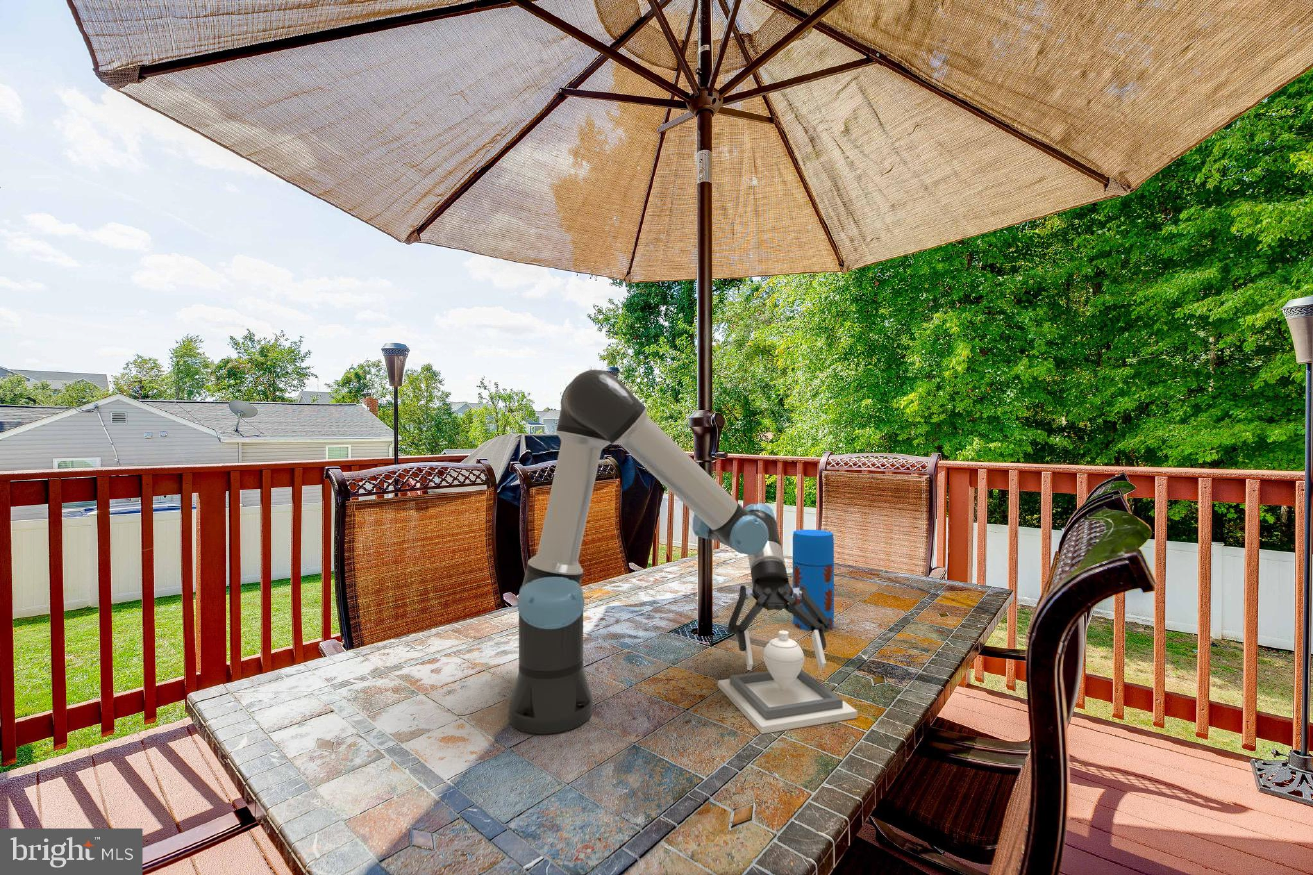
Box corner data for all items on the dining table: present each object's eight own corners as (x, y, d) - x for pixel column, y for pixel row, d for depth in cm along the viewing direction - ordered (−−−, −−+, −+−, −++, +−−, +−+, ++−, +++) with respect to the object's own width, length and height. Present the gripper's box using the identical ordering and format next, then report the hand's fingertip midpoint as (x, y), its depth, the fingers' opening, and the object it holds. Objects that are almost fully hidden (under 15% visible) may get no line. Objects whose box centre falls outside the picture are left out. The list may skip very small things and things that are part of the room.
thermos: (784, 621, 152) (784, 531, 152) (814, 616, 156) (814, 528, 157) (811, 634, 142) (810, 537, 142) (842, 628, 146) (842, 534, 147)
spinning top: (755, 694, 105) (755, 631, 105) (777, 682, 111) (777, 622, 111) (790, 708, 100) (790, 641, 100) (812, 694, 105) (811, 631, 105)
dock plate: (761, 733, 93) (761, 717, 93) (717, 686, 112) (717, 672, 112) (857, 717, 99) (857, 702, 99) (800, 674, 117) (800, 662, 117)
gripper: (821, 576, 121) (847, 674, 106) (708, 577, 120) (718, 675, 105) (829, 557, 116) (857, 657, 101) (711, 558, 115) (722, 658, 100)
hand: (786, 666), depth 103 cm, fingers open, 13 cm apart
